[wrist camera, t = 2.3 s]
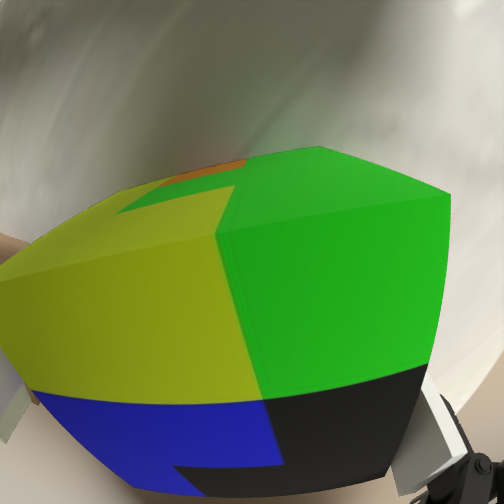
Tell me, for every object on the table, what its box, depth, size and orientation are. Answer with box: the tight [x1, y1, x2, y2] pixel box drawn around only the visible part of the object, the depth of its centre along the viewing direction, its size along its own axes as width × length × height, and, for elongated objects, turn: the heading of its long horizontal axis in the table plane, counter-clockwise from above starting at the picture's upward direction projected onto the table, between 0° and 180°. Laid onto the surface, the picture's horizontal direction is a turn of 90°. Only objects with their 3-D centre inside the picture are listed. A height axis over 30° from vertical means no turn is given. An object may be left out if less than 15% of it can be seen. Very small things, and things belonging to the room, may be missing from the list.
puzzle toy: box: [0, 146, 451, 498], centre depth 10 cm, size 10×10×10 cm
